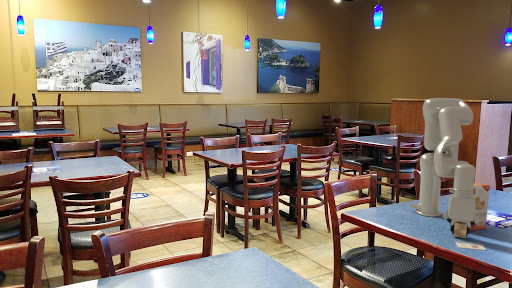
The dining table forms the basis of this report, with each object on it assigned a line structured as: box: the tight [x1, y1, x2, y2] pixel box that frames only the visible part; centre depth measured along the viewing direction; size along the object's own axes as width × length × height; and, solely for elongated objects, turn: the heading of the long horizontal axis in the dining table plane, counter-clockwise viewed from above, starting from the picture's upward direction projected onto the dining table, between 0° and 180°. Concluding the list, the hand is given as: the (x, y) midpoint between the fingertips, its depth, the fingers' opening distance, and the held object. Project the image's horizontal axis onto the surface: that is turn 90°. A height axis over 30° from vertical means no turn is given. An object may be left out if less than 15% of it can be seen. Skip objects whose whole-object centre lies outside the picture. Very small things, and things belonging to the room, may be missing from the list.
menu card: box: [454, 240, 487, 251], centre depth 156 cm, size 10×7×1 cm
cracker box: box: [459, 182, 491, 231], centre depth 176 cm, size 14×6×21 cm, turn 105°
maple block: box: [453, 220, 467, 239], centre depth 166 cm, size 4×4×6 cm
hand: (459, 233), depth 166 cm, fingers closed on maple block, 4 cm apart
